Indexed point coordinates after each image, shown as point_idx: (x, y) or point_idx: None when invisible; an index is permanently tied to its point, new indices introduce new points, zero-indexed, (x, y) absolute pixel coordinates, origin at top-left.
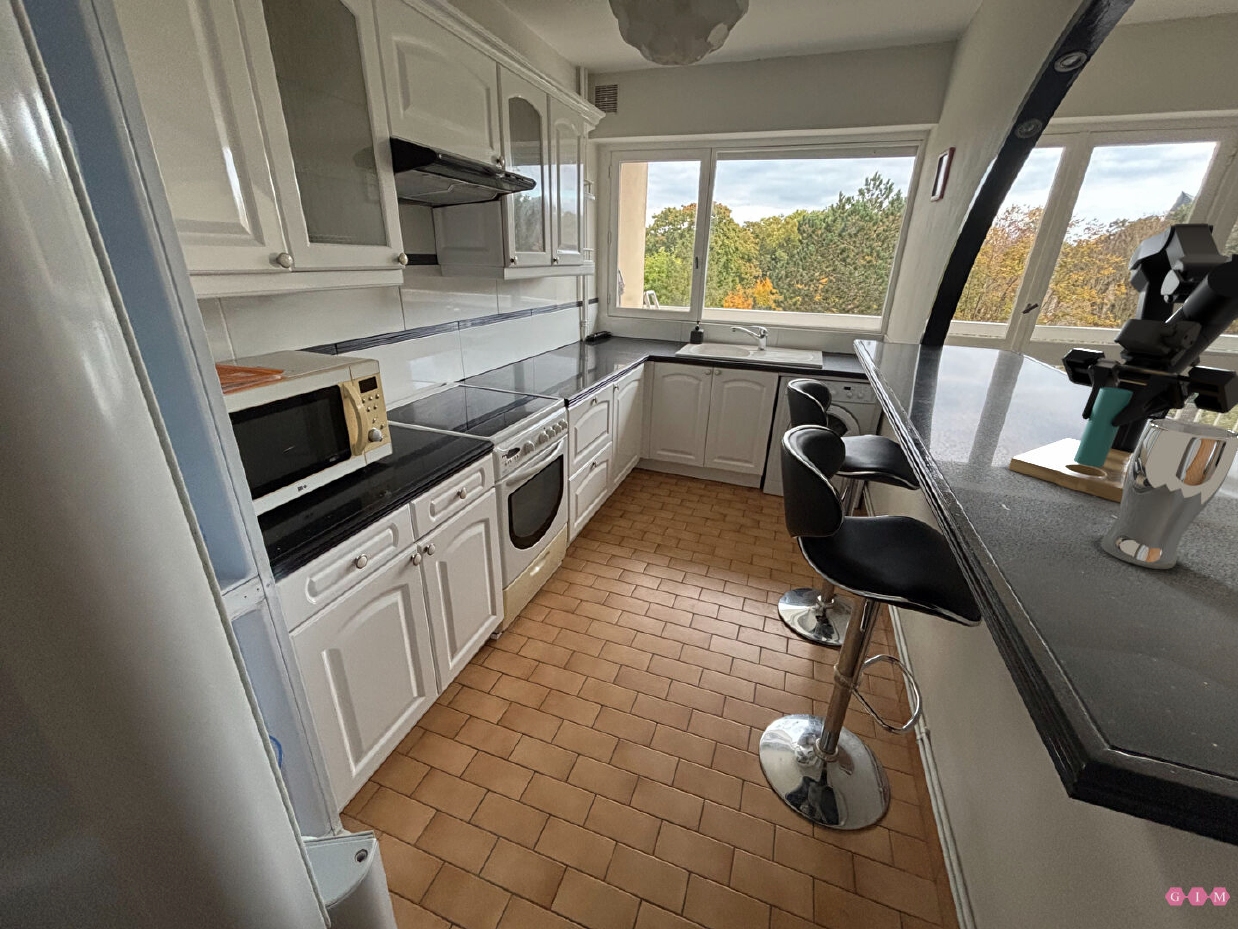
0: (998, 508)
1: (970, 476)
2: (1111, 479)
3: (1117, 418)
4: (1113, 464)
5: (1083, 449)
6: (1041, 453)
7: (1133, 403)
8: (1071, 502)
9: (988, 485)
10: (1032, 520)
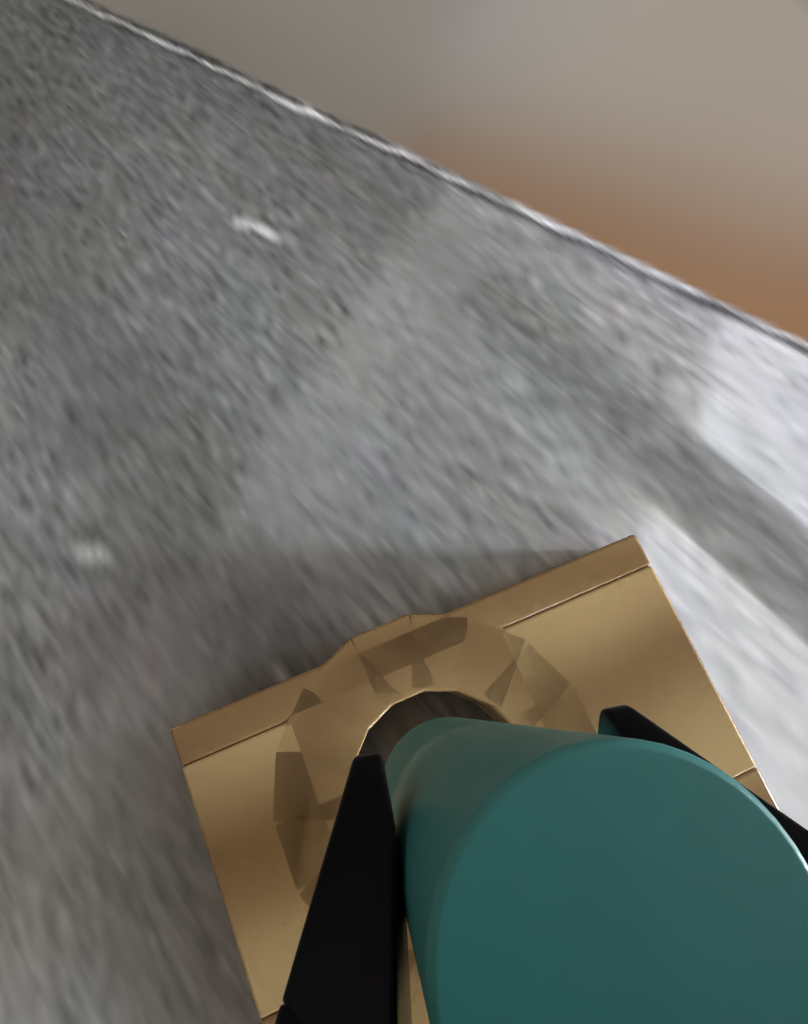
0: (250, 199)
1: (534, 322)
2: (303, 796)
3: (362, 788)
4: None
5: (461, 718)
6: None
7: (351, 987)
8: (244, 505)
9: (440, 320)
10: (147, 231)
